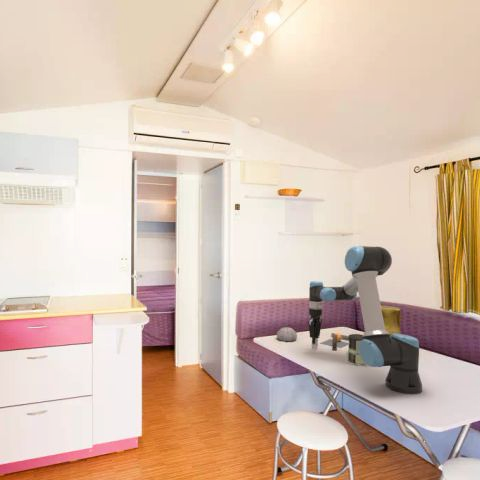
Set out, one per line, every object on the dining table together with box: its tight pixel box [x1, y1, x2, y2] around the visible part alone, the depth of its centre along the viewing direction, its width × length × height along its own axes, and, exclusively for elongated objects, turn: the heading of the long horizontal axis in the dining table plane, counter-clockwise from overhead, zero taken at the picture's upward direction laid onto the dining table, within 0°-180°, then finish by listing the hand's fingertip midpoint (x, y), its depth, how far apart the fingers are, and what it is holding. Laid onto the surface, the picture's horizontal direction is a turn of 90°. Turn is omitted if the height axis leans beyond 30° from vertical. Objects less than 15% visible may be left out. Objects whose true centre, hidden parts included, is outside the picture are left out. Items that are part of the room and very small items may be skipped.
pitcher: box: [381, 305, 402, 338], centre depth 239 cm, size 17×19×25 cm
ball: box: [334, 332, 343, 342], centre depth 248 cm, size 6×6×6 cm
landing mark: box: [319, 338, 349, 349], centre depth 244 cm, size 14×14×1 cm
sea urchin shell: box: [276, 326, 298, 342], centre depth 250 cm, size 13×14×8 cm
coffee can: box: [347, 333, 368, 367], centre depth 206 cm, size 10×10×14 cm
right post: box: [331, 334, 338, 352], centre depth 229 cm, size 3×3×9 cm
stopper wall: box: [330, 332, 349, 342], centre depth 254 cm, size 2×18×2 cm, turn 51°
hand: (314, 349), depth 223 cm, fingers closed
